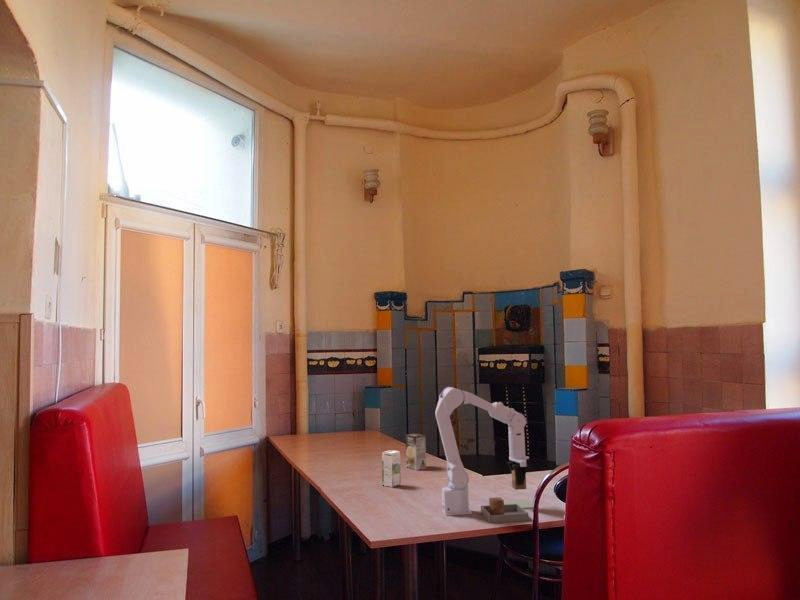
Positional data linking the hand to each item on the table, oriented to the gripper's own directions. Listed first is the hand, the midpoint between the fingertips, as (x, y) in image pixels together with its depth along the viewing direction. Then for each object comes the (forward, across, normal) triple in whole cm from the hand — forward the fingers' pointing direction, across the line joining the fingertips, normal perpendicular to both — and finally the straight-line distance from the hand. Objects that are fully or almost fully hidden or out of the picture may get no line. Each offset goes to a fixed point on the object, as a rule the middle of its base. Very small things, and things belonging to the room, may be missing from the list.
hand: (518, 483), depth 213 cm
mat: (+9, +3, -1) cm, 9 cm away
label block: (+2, 0, 0) cm, 2 cm away
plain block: (+9, -10, +11) cm, 17 cm away
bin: (+9, -10, +8) cm, 15 cm away
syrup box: (+9, +44, +43) cm, 62 cm away
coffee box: (+9, +77, +28) cm, 83 cm away
